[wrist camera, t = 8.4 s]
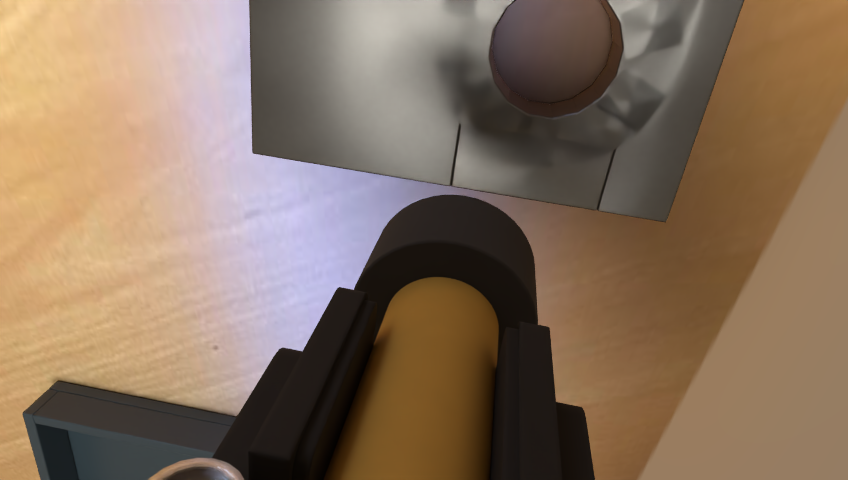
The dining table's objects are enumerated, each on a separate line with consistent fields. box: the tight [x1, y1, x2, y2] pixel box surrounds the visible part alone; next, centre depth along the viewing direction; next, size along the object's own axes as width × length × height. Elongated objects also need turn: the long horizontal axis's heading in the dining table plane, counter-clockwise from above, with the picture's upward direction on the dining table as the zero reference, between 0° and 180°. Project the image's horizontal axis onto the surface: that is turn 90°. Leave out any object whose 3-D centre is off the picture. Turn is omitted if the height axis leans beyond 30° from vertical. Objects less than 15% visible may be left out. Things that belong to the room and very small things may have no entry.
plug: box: [323, 195, 538, 480], centre depth 10 cm, size 4×4×10 cm
